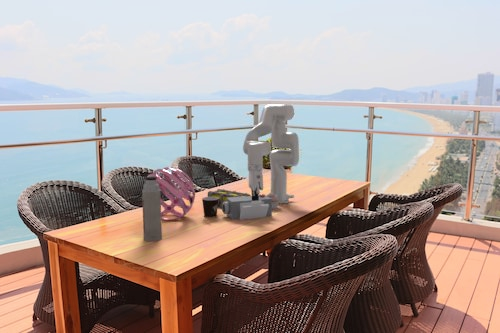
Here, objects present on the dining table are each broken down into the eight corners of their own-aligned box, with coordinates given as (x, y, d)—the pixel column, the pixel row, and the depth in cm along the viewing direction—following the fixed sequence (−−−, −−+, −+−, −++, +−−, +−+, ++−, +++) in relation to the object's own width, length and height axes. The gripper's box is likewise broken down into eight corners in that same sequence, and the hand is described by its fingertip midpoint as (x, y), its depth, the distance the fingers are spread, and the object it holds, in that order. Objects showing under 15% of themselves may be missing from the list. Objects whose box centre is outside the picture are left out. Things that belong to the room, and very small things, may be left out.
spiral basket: (139, 189, 221) (179, 153, 234) (122, 193, 245) (159, 160, 258) (177, 232, 229) (213, 195, 241) (157, 232, 252) (191, 198, 265)
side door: (265, 216, 245) (269, 199, 237) (265, 218, 244) (270, 201, 236) (238, 219, 241) (242, 201, 233) (239, 221, 240) (243, 203, 232)
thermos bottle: (142, 241, 206) (140, 178, 201) (145, 236, 213) (143, 175, 209) (160, 241, 206) (159, 178, 202) (162, 235, 214) (161, 175, 210)
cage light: (218, 187, 287) (257, 193, 268) (218, 200, 288) (256, 207, 269) (201, 191, 276) (240, 198, 257) (201, 204, 277) (240, 212, 258)
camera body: (265, 212, 256) (265, 193, 254) (271, 217, 246) (272, 197, 245) (221, 216, 248) (220, 196, 247) (226, 221, 239) (225, 200, 237)
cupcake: (270, 206, 271) (270, 189, 269) (282, 209, 264) (282, 191, 263) (259, 209, 264) (259, 191, 263) (271, 212, 258) (271, 194, 256)
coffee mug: (206, 219, 241) (205, 200, 240) (199, 216, 249) (199, 197, 248) (226, 217, 247) (226, 198, 245) (219, 213, 254) (219, 195, 253)
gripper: (267, 169, 228) (267, 205, 231) (257, 164, 242) (257, 199, 245) (252, 170, 226) (252, 207, 229) (243, 165, 240) (243, 200, 243)
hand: (255, 202), depth 237 cm, fingers closed
